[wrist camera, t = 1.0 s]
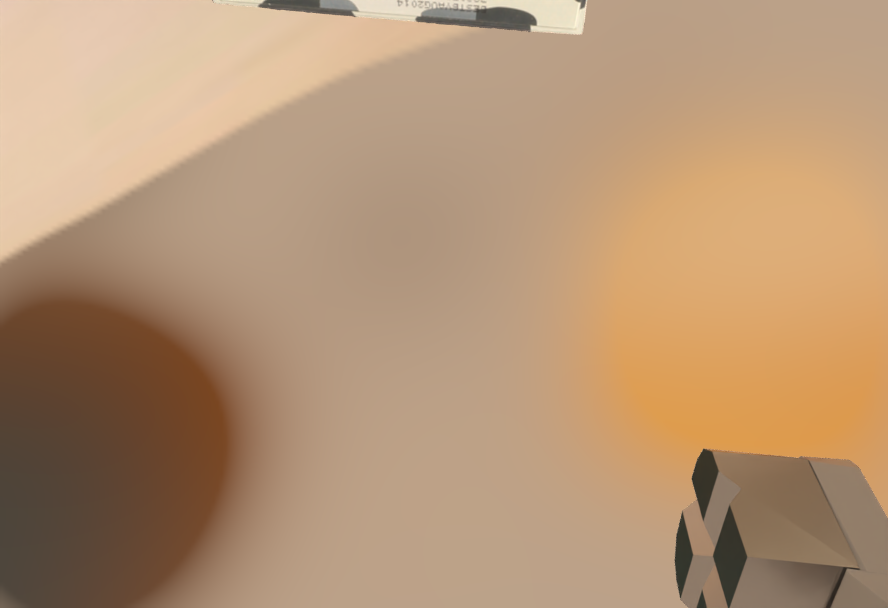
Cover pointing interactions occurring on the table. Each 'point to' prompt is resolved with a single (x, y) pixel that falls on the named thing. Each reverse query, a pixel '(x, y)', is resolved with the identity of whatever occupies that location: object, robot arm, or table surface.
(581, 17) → the candy bar box
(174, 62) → the table surface
